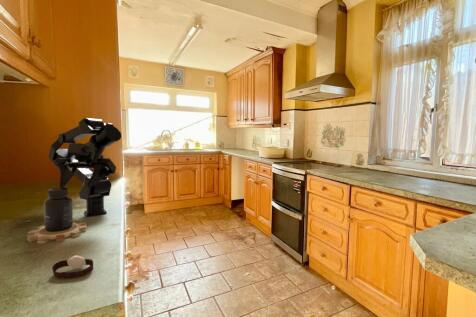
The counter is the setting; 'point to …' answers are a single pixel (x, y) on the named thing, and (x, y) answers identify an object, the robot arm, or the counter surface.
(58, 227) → the supplement bottle
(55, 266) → the watch
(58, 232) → the sprocket wheel
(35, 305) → the counter surface
